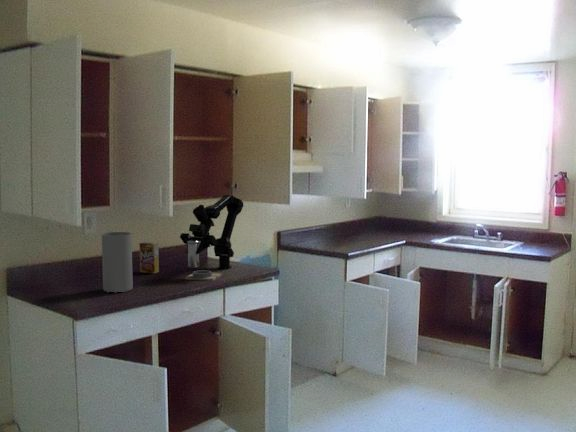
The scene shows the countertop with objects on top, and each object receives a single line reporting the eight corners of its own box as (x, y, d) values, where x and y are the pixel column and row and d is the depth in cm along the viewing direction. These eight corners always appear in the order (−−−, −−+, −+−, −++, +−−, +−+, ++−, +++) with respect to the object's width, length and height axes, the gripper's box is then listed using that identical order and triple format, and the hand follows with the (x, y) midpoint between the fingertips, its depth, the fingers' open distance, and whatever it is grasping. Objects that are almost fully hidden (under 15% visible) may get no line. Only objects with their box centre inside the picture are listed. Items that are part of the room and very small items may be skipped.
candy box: (139, 272, 296) (138, 242, 295) (144, 271, 300) (143, 241, 299) (154, 273, 293) (153, 243, 292) (159, 272, 297) (158, 242, 296)
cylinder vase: (101, 288, 260) (99, 232, 258) (129, 285, 266) (128, 231, 263) (105, 294, 249) (104, 236, 247) (135, 291, 255) (134, 234, 252)
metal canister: (188, 265, 285) (188, 240, 284) (200, 265, 285) (199, 240, 284) (187, 267, 280) (186, 241, 278) (198, 267, 280) (198, 241, 278)
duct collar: (196, 273, 289) (196, 269, 288) (214, 274, 287) (214, 270, 286) (190, 277, 280) (190, 273, 280) (207, 278, 278) (207, 274, 278)
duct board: (195, 273, 294) (195, 271, 294) (222, 275, 291) (222, 273, 291) (185, 279, 280) (185, 277, 280) (212, 280, 277) (212, 278, 277)
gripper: (181, 216, 287) (168, 242, 279) (213, 218, 280) (201, 244, 271) (190, 230, 295) (178, 255, 287) (222, 232, 288) (211, 258, 279)
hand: (191, 253), depth 280 cm, fingers closed on metal canister, 5 cm apart
